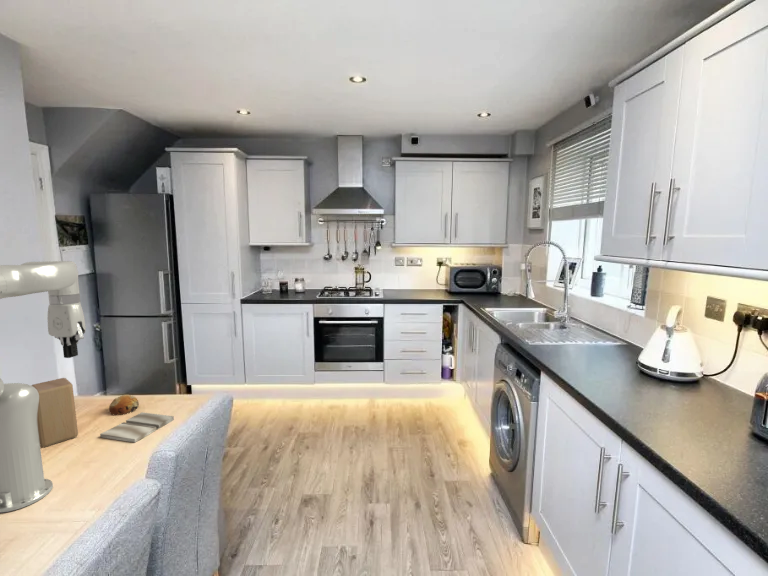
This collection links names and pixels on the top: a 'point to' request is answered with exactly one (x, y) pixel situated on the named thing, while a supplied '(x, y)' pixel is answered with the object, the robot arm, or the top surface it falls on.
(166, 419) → the laid board
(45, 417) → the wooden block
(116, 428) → the loose plank
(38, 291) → the robot arm
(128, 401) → the blueberry muffin
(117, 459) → the top surface
